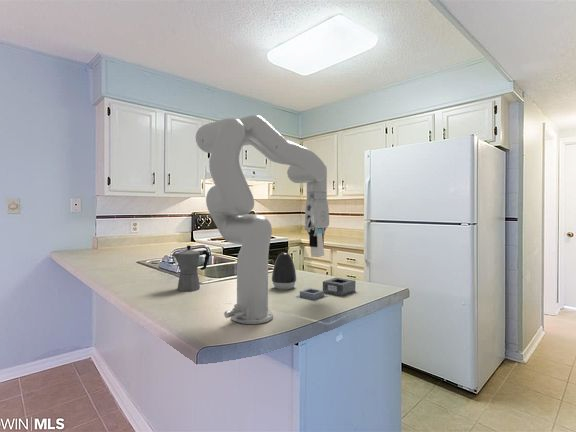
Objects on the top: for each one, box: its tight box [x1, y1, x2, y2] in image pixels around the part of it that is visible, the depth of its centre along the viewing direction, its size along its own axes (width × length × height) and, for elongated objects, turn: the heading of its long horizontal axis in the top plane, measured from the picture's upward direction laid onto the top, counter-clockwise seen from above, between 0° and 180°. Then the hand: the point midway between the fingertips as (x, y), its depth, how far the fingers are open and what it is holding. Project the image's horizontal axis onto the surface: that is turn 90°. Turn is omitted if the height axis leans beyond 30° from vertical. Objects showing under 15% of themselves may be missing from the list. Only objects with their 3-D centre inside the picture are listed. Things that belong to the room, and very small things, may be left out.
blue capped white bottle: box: [309, 229, 325, 258], centre depth 125 cm, size 4×4×10 cm
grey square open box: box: [295, 287, 329, 302], centre depth 125 cm, size 9×9×3 cm
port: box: [322, 277, 356, 297], centre depth 132 cm, size 10×9×5 cm
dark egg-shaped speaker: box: [271, 252, 297, 291], centre depth 139 cm, size 10×10×15 cm
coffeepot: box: [172, 244, 211, 293], centre depth 138 cm, size 15×9×18 cm, turn 121°
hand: (316, 245), depth 126 cm, fingers closed on blue capped white bottle, 3 cm apart
